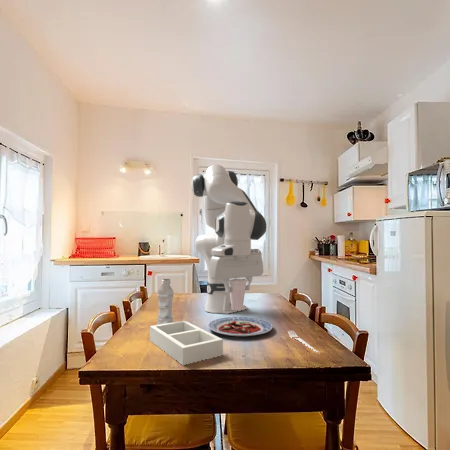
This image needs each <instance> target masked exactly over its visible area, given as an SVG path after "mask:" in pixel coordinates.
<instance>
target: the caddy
mask: <svg viewBox="0 0 450 450" xmlns="http://www.w3.org/2000/svg"><path fill="white" fill-rule="evenodd" d="M149 341H150V342H151V343H152V344H154V345H155V346H157V347H158V348H160V350H162V351H163V352H164V351H165V354H167V355H168V356H170V357H171V358H172V359H174V361H176V360H177V361H178V362H177V361H176V362H177V363H178V364H180V365H181V364H182V366H187V365H190V363H191V364H194V363H193V362H195V363H198V362H197V361H199V362H202V361H201V360H203V361H206V360H205V359H207V360H210V359H209V358H211V359H214V358H213V357H215V358H217V356H219V357H222V356H221V355H223V356H224V354H223V353H224V339H223V338H221V337H219V336H217V335H215V334H213V333H211V332H209V331H208V330H207V331H206V330H205V329H202V327H201V328H200V326H197V325H196V324H195V325H194V324H193V323H190V322H189V321H187V320H180V321H173V323H166V324H160V325H157V324H155V325H149ZM186 364H187V365H186Z"/></svg>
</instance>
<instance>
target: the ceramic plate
mask: <svg viewBox="0 0 450 450" xmlns="http://www.w3.org/2000/svg"><path fill="white" fill-rule="evenodd" d="M208 328H209V329H210V330H211V331H212V332H213V333H217V334H221V335H226V336H231V337H240V338H241V337H242V338H243V337H244V338H245V337H254V336H258V335H263V334H267V333H270V332H271V331H272V330H273V325H272V323H270V322H269V321H267V320H264V319H261V318H255V317H248V316H230V317H229V316H228V317H222V318H221V317H220V318H216V319H214V320H212V321H210V322H209V323H208Z"/></svg>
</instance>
